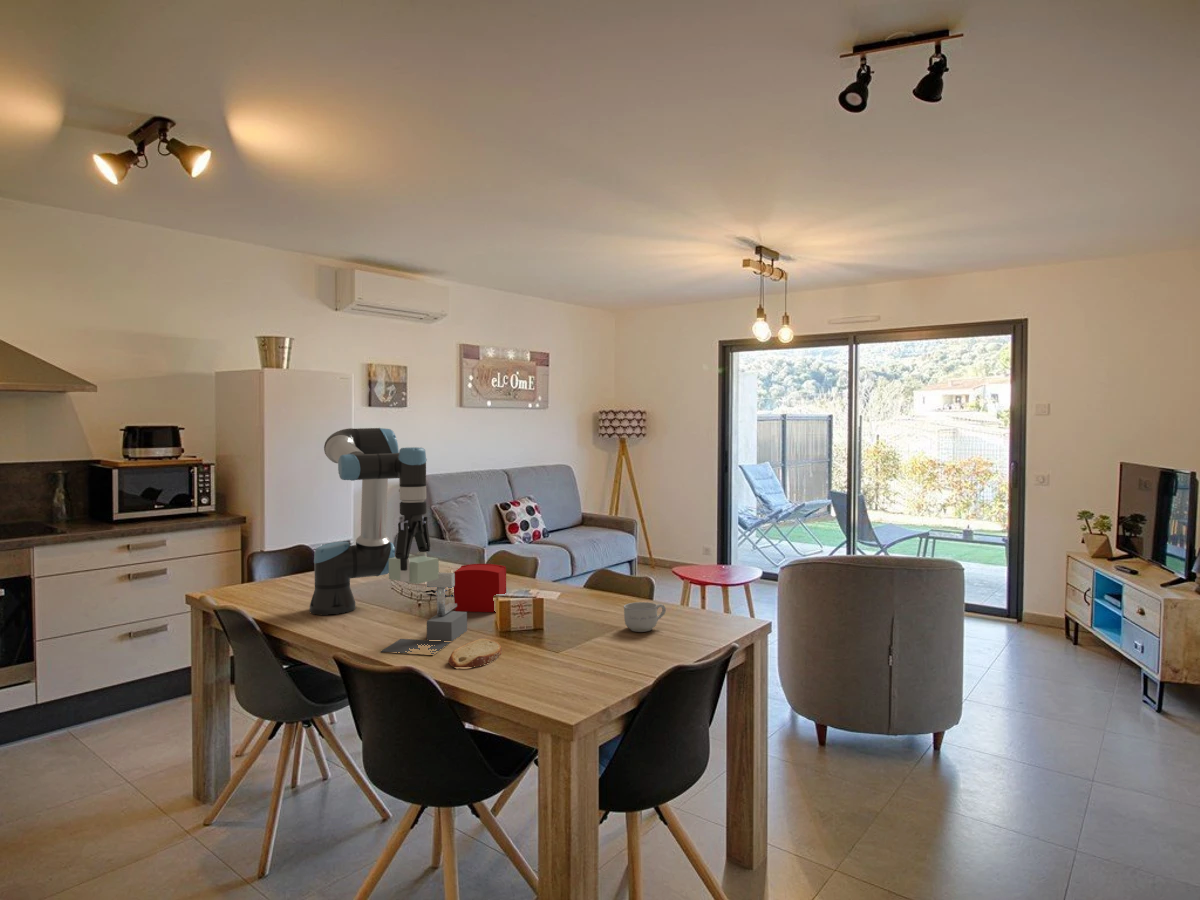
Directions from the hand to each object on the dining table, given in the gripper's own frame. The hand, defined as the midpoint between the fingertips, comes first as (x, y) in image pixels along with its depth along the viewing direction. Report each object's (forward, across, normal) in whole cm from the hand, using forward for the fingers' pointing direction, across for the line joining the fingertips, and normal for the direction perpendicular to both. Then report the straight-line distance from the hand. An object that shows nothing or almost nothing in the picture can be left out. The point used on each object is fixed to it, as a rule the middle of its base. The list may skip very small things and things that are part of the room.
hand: (413, 577), depth 206 cm
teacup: (+21, -33, +63) cm, 74 cm away
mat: (+21, -1, 0) cm, 21 cm away
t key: (+15, -18, +2) cm, 24 cm away
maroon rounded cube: (+21, -47, +2) cm, 52 cm away
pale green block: (0, 0, 0) cm, 0 cm away
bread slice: (+22, +3, +20) cm, 29 cm away
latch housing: (+21, -14, +4) cm, 26 cm away
